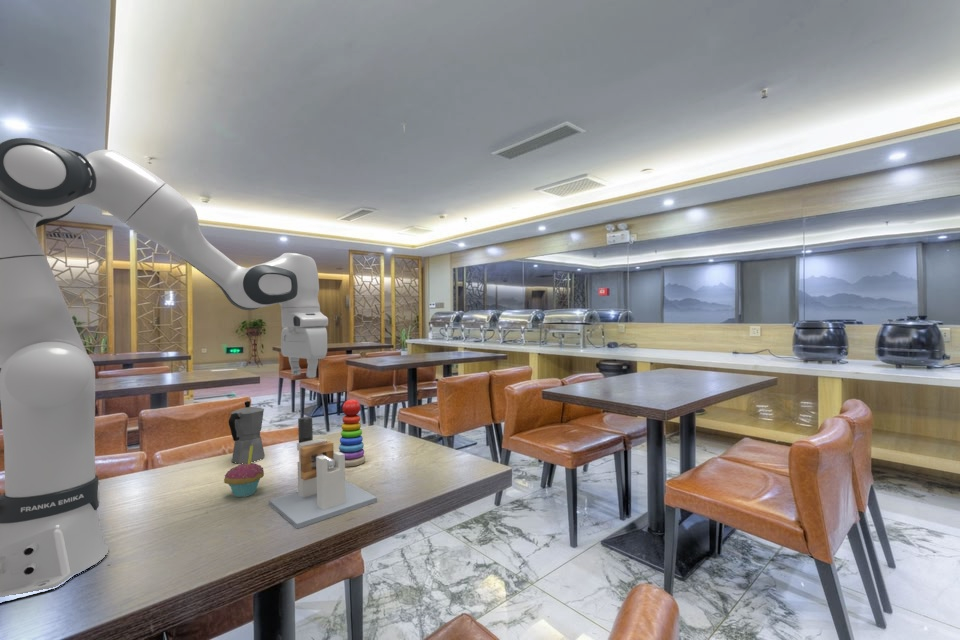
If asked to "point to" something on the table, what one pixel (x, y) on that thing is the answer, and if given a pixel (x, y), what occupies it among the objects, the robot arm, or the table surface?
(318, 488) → the stand
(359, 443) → the stacking toy
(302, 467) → the collar
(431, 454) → the table surface
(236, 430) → the coffeepot
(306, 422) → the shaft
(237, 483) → the cupcake
